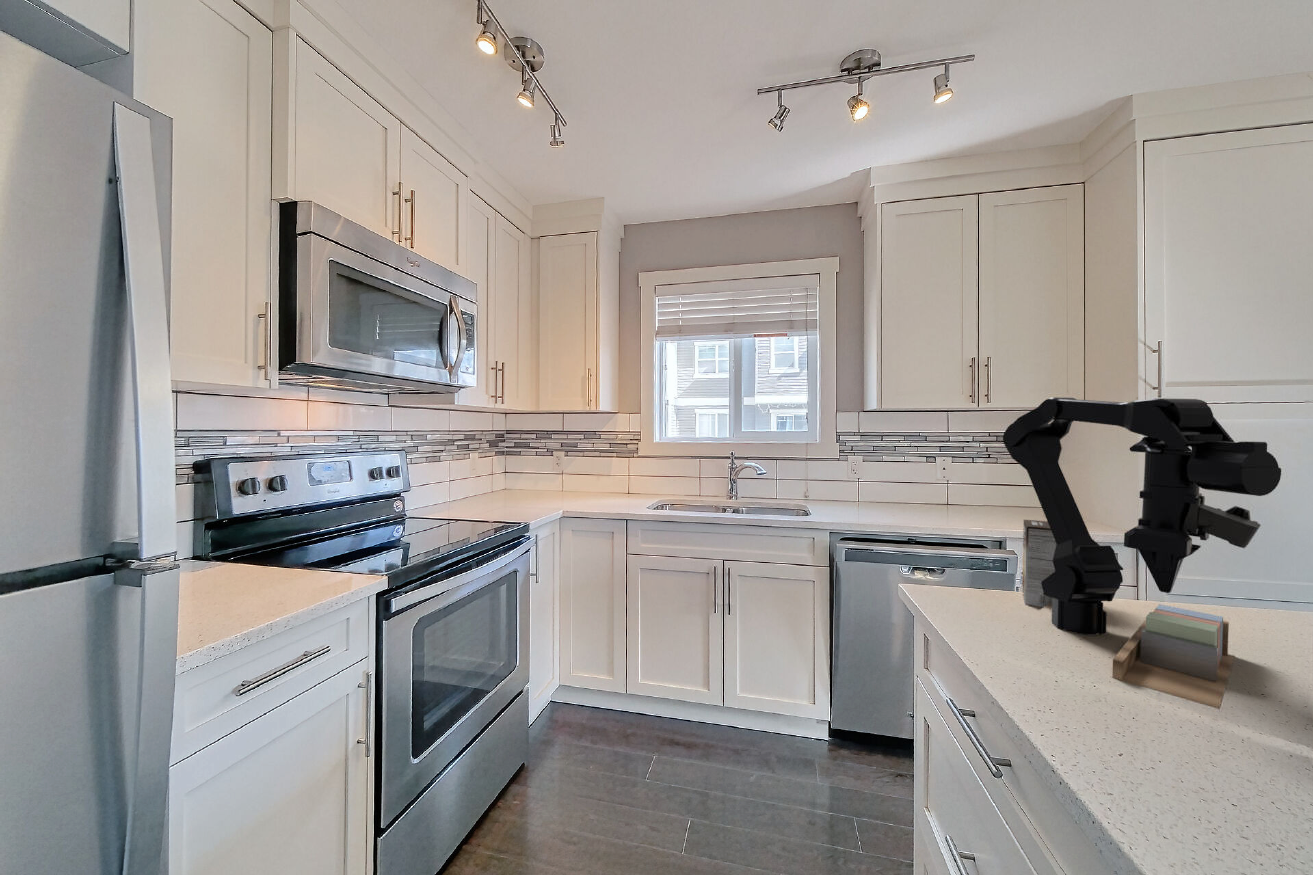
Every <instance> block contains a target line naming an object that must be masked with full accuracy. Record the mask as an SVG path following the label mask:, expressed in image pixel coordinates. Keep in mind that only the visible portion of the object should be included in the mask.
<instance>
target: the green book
mask: <svg viewBox="0 0 1313 875" xmlns="http://www.w3.org/2000/svg"><path fill="white" fill-rule="evenodd" d="M1145 620H1146V630H1149V631H1154V632H1158V633H1162V634H1167V635H1171V636H1176V637H1180V638H1184V639H1189V640H1193V641H1197V642H1202V643H1206V644H1210V645H1215V646H1217V633H1218V626H1216V625H1211V624H1206V623H1201V622H1197V621H1192V620H1187V619H1182V618H1177V617H1173V616H1168V615H1163V614H1158V613H1153V611H1149V612H1148V614H1147V615H1146V616H1145Z"/></svg>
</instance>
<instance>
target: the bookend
mask: <svg viewBox="0 0 1313 875" xmlns="http://www.w3.org/2000/svg"><path fill="white" fill-rule="evenodd" d="M1140 662H1143V663H1147V664H1151V665H1155V666H1158V667H1162V668H1166V669H1170V670H1173V671H1177V672H1181V673H1185V674H1188V675H1192V676H1196V677H1200V678H1203V679H1207V680H1211V681H1215V682H1216V681H1217V669H1218V646H1215V645H1210V644H1206V643H1202V642H1197V641H1193V640H1189V639H1184V638H1180V637H1176V636H1171V635H1167V634H1162V633H1158V632H1154V631H1149V630H1145V629H1143V630H1142V631H1141V651H1140Z"/></svg>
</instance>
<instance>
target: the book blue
mask: <svg viewBox="0 0 1313 875" xmlns="http://www.w3.org/2000/svg"><path fill="white" fill-rule="evenodd" d="M1155 609H1156V610H1161V611H1166V612H1171V613H1176V614H1181V615H1186V616H1190V617H1195V618H1200V619H1205V620H1210V621H1215V622H1220V623H1221V631H1220V660H1221V657H1222V640H1223V621H1224V616H1221V615H1216V614H1211V613H1205V612H1201V611H1196V610H1191V609H1185V608H1180V607H1176V606H1171V605H1166V604H1161V603H1158V605H1157V608H1156V607H1155Z"/></svg>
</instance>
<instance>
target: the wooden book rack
mask: <svg viewBox="0 0 1313 875" xmlns="http://www.w3.org/2000/svg"><path fill="white" fill-rule="evenodd" d="M1156 608H1157V607H1155V609H1156ZM1229 622H1230V621H1227V620H1223V640H1222V657H1221V660H1220V663H1219V666H1218V669H1217V681H1216V682H1215V681H1211V680H1207V679H1203V678H1200V677H1196V676H1192V675H1188V674H1185V673H1181V672H1177V671H1173V670H1170V669H1166V668H1162V667H1158V666H1155V665H1151V664H1147V663H1143V662H1140V651H1141V631H1142V630H1143V629H1145V630H1146V619H1145V620H1144V621H1143V622H1142V624H1141V625H1140V626H1139V627H1138V628H1137V629H1136V631H1135V632H1134V633H1133V634H1132V635H1131V637H1130V638H1129V639H1128V640H1127V642H1125V644H1124V645H1123V647H1121V649H1120V650H1119V651H1118V652H1117V654H1116V655H1115V656H1114V657H1113V658H1112V679H1115V680H1119V681H1123V682H1126V683H1129V684H1134V685H1136V686H1140V687H1143V688H1146V689H1150V690H1153V691H1158V692H1161V693H1163V694H1168V695H1171V696H1174V697H1177V698H1180V699H1183V700H1186V701H1187V700H1188V701H1191V702H1195V703H1198V704H1201V705H1204V706H1207V707H1212V708H1215V709H1220V707H1221V703H1222V701H1223V696H1224V694H1225V691H1226V687H1227V685H1228V684H1227V683H1228V680H1229V676H1230V673H1231V670H1232V666H1233V664H1234V663H1233V662H1234V659H1235V655H1233V654H1229V629H1230V628H1229V627H1230V626H1229V625H1230V624H1229Z"/></svg>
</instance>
